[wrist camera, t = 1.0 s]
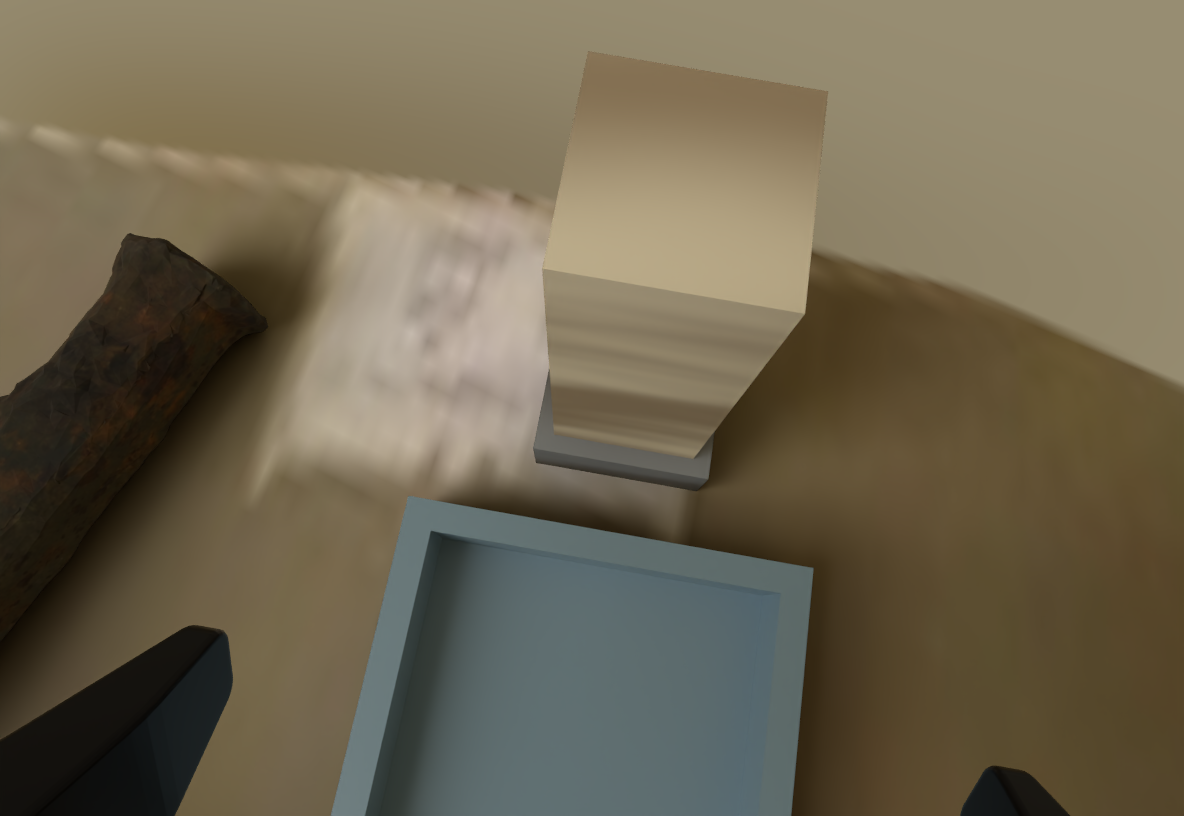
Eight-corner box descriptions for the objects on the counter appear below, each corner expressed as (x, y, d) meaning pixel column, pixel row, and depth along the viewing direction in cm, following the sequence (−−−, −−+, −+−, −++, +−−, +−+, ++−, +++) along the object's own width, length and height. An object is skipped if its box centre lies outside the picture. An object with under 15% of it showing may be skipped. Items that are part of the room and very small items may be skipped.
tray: (744, 1002, 20) (769, 1055, 17) (327, 924, 20) (294, 965, 17) (787, 574, 23) (813, 567, 20) (425, 509, 23) (408, 495, 20)
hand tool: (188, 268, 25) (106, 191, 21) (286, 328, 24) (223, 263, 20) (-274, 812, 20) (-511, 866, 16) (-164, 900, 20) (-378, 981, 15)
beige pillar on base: (696, 491, 23) (834, 350, 11) (536, 462, 23) (503, 292, 11) (717, 340, 25) (860, 70, 13) (565, 313, 25) (563, 21, 13)
